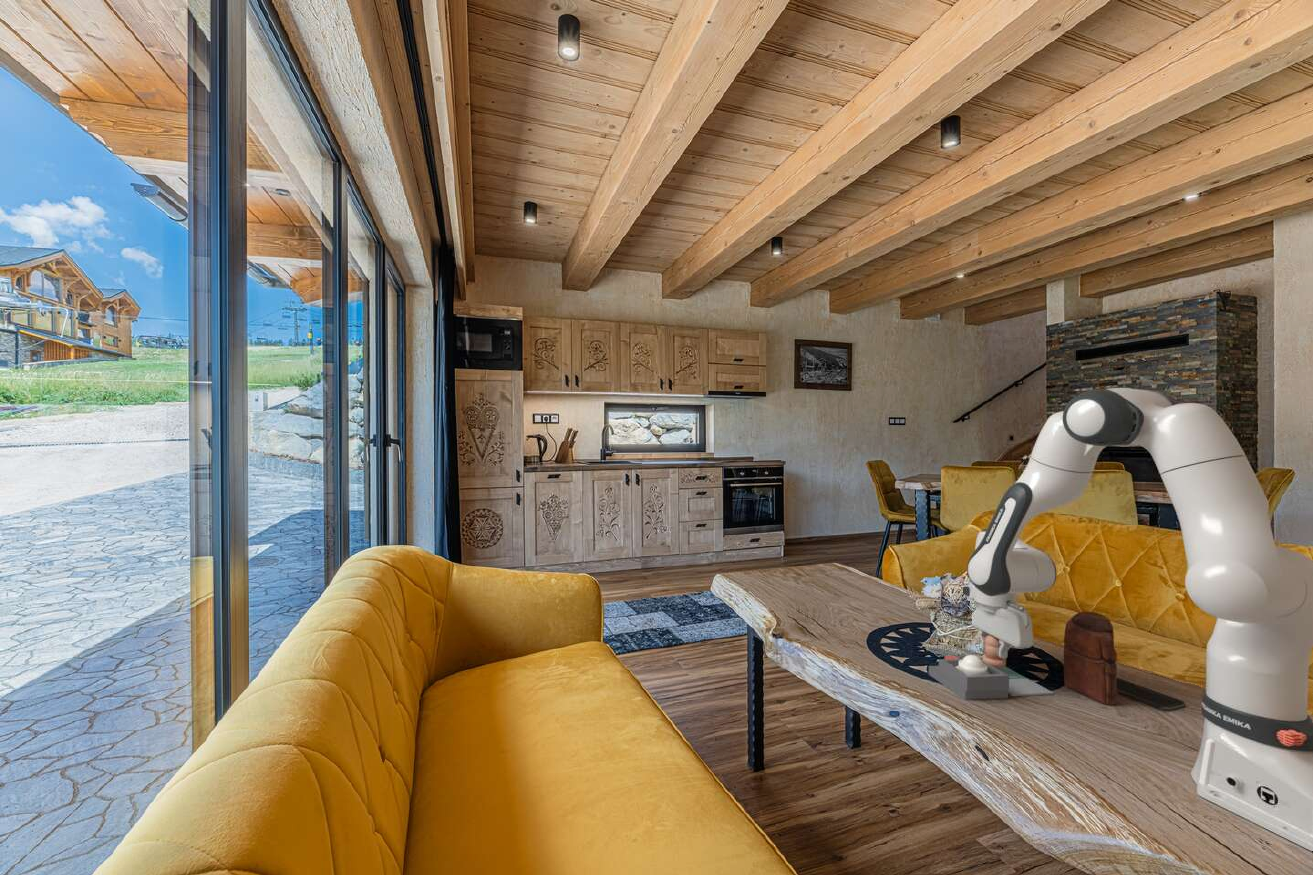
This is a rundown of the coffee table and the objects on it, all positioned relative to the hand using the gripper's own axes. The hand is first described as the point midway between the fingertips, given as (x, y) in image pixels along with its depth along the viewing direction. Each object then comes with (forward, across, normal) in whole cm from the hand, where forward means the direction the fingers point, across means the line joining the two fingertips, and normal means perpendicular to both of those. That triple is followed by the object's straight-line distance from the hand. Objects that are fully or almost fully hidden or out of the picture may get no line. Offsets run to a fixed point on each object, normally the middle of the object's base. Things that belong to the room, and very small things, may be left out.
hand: (994, 653), depth 135 cm
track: (+5, -4, 0) cm, 6 cm away
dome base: (+5, -6, +11) cm, 14 cm away
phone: (+5, -13, -24) cm, 28 cm away
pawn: (+3, 0, 0) cm, 3 cm away
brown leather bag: (+5, -12, -14) cm, 19 cm away
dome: (+3, -8, +12) cm, 14 cm away
